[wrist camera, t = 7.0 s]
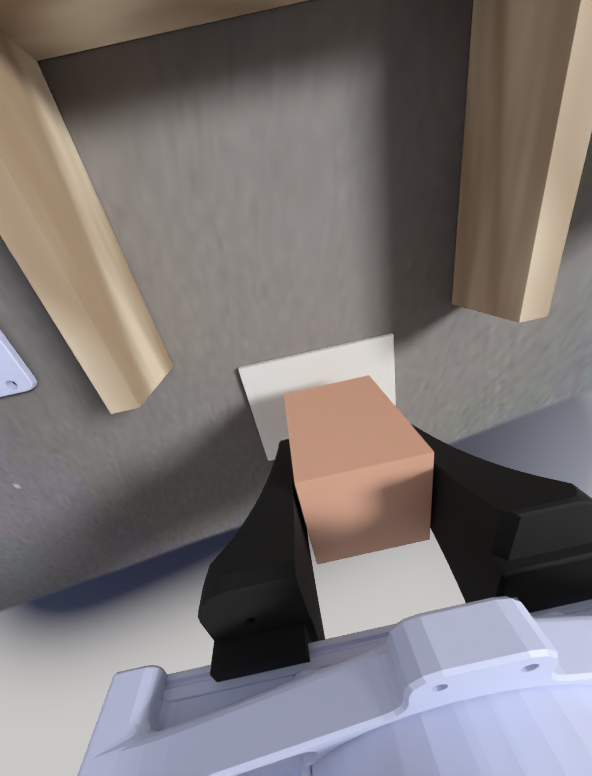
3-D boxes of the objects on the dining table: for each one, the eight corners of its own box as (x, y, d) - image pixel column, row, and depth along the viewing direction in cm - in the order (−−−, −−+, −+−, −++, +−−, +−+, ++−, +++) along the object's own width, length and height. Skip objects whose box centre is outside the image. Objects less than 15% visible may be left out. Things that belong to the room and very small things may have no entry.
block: (299, 459, 16) (316, 564, 10) (283, 394, 14) (294, 483, 8) (374, 443, 16) (429, 539, 10) (369, 375, 14) (434, 452, 8)
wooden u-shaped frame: (152, 371, 15) (110, 414, 11) (-22, 17, 9) (-252, -171, 5) (472, 299, 15) (547, 316, 11) (515, -103, 9) (715, -389, 5)
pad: (268, 458, 19) (268, 461, 18) (238, 367, 15) (238, 369, 15) (394, 429, 19) (396, 432, 18) (391, 333, 15) (393, 334, 15)
